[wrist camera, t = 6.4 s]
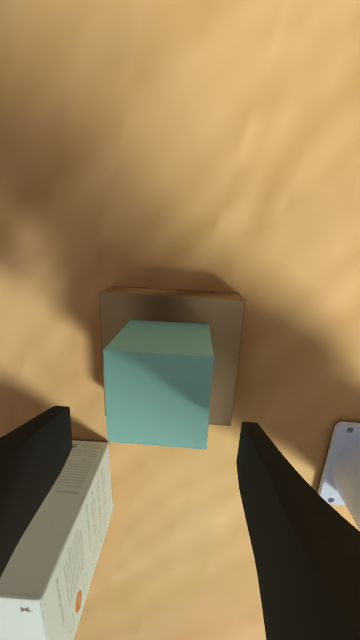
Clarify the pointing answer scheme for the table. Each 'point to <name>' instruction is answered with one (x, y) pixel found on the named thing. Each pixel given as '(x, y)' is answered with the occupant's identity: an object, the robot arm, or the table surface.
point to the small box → (59, 551)
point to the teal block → (159, 384)
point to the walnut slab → (184, 308)
